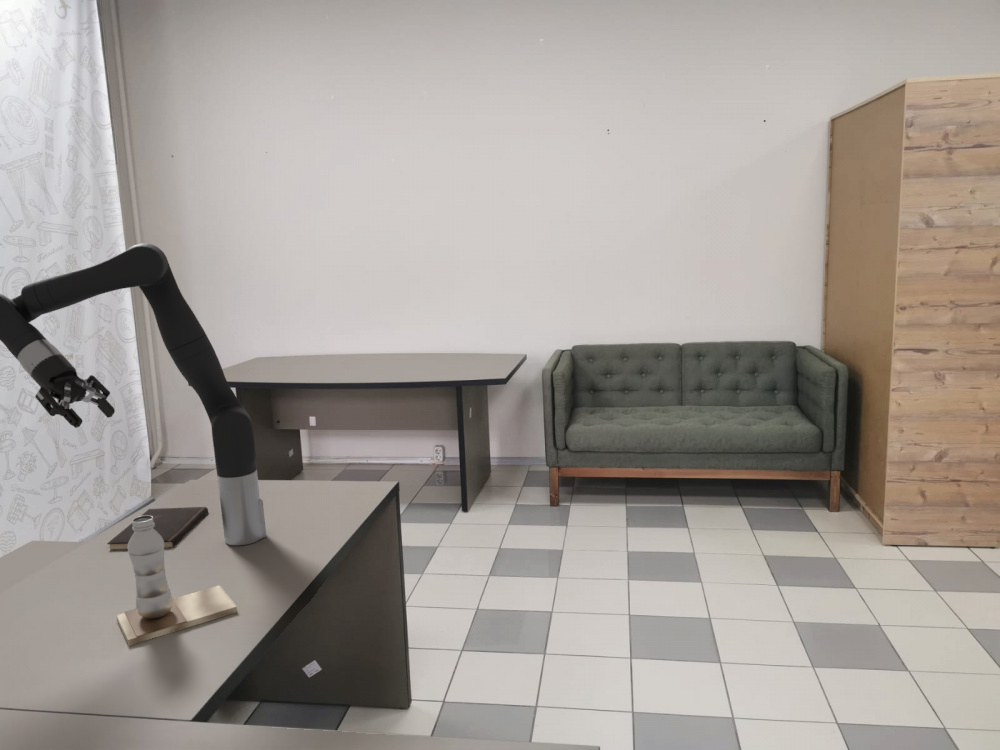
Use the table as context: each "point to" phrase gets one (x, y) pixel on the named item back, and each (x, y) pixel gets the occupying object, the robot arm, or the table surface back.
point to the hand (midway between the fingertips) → (96, 419)
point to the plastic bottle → (149, 569)
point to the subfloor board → (177, 615)
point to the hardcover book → (165, 525)
